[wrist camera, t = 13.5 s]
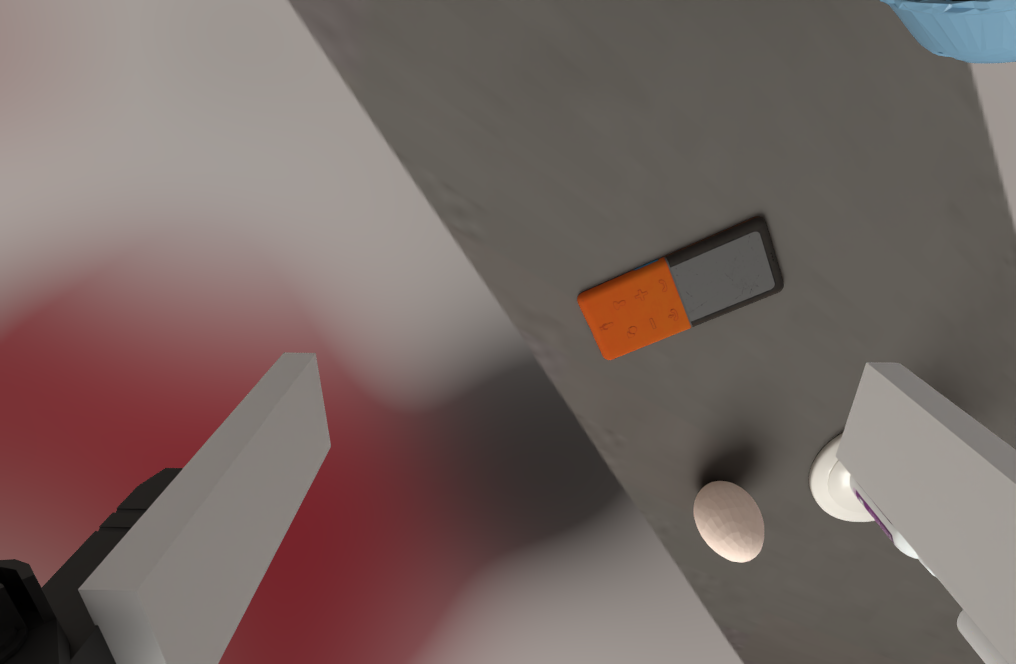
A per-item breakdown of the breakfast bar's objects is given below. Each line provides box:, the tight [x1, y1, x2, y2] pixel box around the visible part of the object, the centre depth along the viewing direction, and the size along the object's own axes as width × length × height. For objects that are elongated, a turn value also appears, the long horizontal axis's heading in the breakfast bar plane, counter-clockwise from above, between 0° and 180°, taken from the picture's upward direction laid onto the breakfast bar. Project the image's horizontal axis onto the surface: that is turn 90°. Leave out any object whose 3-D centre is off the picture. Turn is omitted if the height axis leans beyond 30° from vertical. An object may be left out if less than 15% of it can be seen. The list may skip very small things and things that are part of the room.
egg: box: [694, 481, 764, 562], centre depth 47 cm, size 6×6×8 cm
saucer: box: [809, 433, 875, 522], centre depth 49 cm, size 11×11×1 cm
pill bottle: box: [849, 475, 935, 576], centre depth 44 cm, size 5×5×10 cm
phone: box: [577, 217, 784, 360], centre depth 42 cm, size 6×1×15 cm
